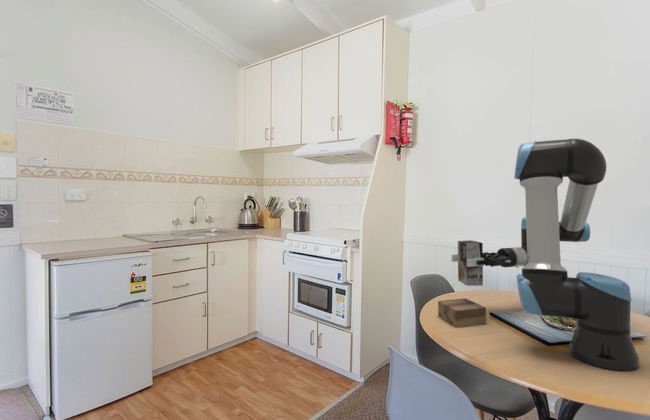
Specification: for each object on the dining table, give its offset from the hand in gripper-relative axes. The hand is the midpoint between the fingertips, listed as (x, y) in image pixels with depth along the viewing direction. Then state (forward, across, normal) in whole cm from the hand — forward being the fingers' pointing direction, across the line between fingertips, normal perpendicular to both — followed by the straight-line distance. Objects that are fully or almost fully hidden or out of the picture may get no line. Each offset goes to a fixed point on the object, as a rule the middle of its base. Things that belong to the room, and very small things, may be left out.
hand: (459, 260), depth 132 cm
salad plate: (-34, -15, -22) cm, 43 cm away
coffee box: (-4, 0, -9) cm, 10 cm away
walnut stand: (+1, -3, -22) cm, 22 cm away
